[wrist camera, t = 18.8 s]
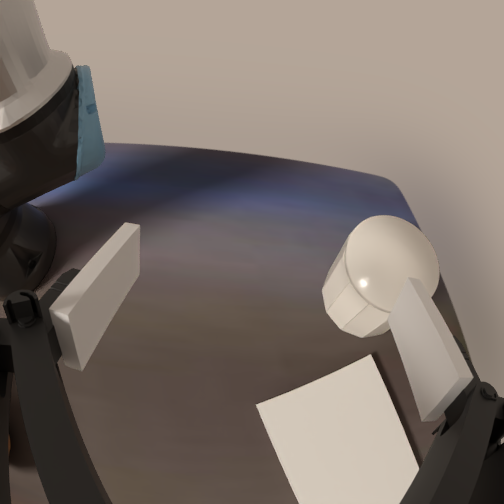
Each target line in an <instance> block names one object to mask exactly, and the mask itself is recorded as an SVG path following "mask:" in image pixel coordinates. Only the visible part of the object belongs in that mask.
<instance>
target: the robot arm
mask: <svg viewBox="0 0 504 504" xmlns="http://www.w3.org/2000/svg"><path fill="white" fill-rule="evenodd" d="M105 153H106V152H105V145H104V140H103V136H102V131H101V126H100V121H99V116H98V111H97V107H96V101H95V94H94V89H93V83H92V77H91V71H90V68H89V66H87V65H84V66H76V67H75V68H74V67H73V64H72V62H71V59H70V57H69V56H68V55H67V54H66V53H64V52H62V51H57V50H51V49H50V48H49V45H48V43H47V40H46V37H45V34H44V31H43V28H42V26H41V22H40V19H39V16H38V13H37V10H36V7H35V4H34V1H33V0H0V301H4V303H3V307H4V310H5V313H6V316H7V319H6V318H0V504H11V496H10V483H9V459H8V436H9V411H10V397H11V386H12V377H13V373H15V379H16V385H17V391H18V396H19V401H20V406H21V411H22V416H23V420H24V424H25V429H26V433H27V436H28V440H29V444H30V448H31V451H32V454H33V458H34V461H35V464H36V467H37V471H38V474H39V477H40V479H41V482H42V485H43V488H44V491H45V493H46V496H47V499H48V501H49V504H112V502H111V500H110V498H109V497H108V495H107V493H106V491H105V489H104V487H103V485H102V482H101V480H100V478H99V476H98V474H97V472H96V470H95V467H94V465H93V463H92V461H91V458H90V456H89V454H88V451H87V449H86V447H85V444H84V442H83V439H82V436H81V434H80V431H79V429H78V426H77V423H76V421H75V418H74V415H73V412H72V409H71V406H70V403H69V400H68V397H67V394H66V391H65V388H64V384H63V381H62V377H61V374H60V370H59V367H58V364H57V362H58V360H59V358H60V357H61V355H62V357H63V361H64V364H65V365H66V366H69V367H72V368H74V369H77V370H80V371H83V369H84V367H85V365H86V364H87V362H88V360H89V358H90V356H91V355H92V353H93V351H94V349H95V347H96V346H97V344H98V342H99V340H100V339H101V337H102V335H103V334H104V332H105V330H106V328H107V327H108V325H109V323H110V322H111V320H112V318H113V317H114V315H115V313H116V312H117V310H118V308H119V307H120V305H121V303H122V302H123V300H124V298H125V297H126V295H127V294H128V292H129V290H130V289H131V287H132V286H133V284H134V282H135V281H136V279H137V278H138V276H139V274H140V225H137V224H132V223H127V222H125V223H124V224H123V225H122V226H121V227H120V228H119V229H118V230H117V231H116V233H115V234H114V235H113V236H112V237H111V238H110V239H109V240H108V241H107V242H106V243H105V244H104V245H103V246H102V248H101V249H100V250H99V251H98V252H97V253H96V254H95V255H94V256H93V257H92V259H91V260H90V261H89V262H88V263H87V264H86V265H85V266H84V268H83V269H82V270H78V269H74V268H72V269H71V270H69V271H67V272H65V273H63V274H62V275H61V276H60V277H59V279H58V280H57V281H56V283H54V284H53V285H52V286H51V289H49V290H48V291H47V292H46V293H45V294H44V295H43V297H42V298H41V299H40V300H38V297H37V295H36V294H35V293H34V292H33V290H34V289H35V288H36V287H37V286H38V284H39V283H40V282H41V281H42V279H43V278H44V276H45V275H46V273H47V271H48V269H49V267H50V265H51V263H52V260H53V257H54V253H55V248H56V234H55V229H54V226H53V224H52V222H51V221H50V220H49V218H48V217H47V216H46V215H45V213H44V212H43V211H42V210H41V209H39V208H38V207H36V206H33V205H30V204H28V203H27V202H29V201H31V200H33V199H35V198H37V197H39V196H41V195H43V194H45V193H47V192H49V191H52V190H54V189H56V188H58V187H60V186H62V185H65V184H67V183H69V182H71V181H75V180H77V179H78V178H79V177H80V176H82V175H84V174H86V173H88V172H90V171H92V170H94V169H96V168H97V167H99V166H100V164H101V163H102V162H103V161H104V158H105ZM387 321H388V323H389V326H390V328H391V331H392V334H393V336H394V339H395V342H396V345H397V347H398V350H399V353H400V356H401V359H402V361H403V364H404V367H405V370H406V373H407V376H408V379H409V382H410V385H411V388H412V391H413V394H414V398H415V401H416V404H417V407H418V410H419V414H420V417H421V421H422V422H423V421H436V420H437V419H438V418H439V417H440V416H441V415H442V414H443V413H445V416H446V419H445V420H444V421H443V422H442V423H441V424H440V425H439V426H438V427H437V428H436V429H435V430H434V431H433V433H432V434H433V435H434V434H435V433H436V432H438V433H437V435H436V437H435V439H434V441H433V443H432V445H431V447H430V449H429V452H428V454H427V455H426V457H425V459H424V461H423V463H422V465H421V467H420V469H419V471H418V473H417V474H416V476H415V478H414V480H413V482H412V483H411V485H410V487H409V488H408V490H407V492H406V493H405V495H404V497H403V498H402V500H401V502H400V503H399V504H504V443H503V444H501V439H502V438H503V437H504V398H502V397H498V394H497V392H496V390H495V389H494V387H492V386H491V385H490V384H488V383H486V382H481V381H480V379H479V377H478V375H477V373H476V371H475V369H474V367H473V365H472V363H471V361H470V360H469V357H468V355H467V354H466V351H465V349H464V347H463V345H462V344H461V343H460V341H459V340H458V339H457V338H456V337H455V336H452V334H451V332H450V330H449V328H448V327H447V325H446V323H445V321H444V319H443V318H442V316H441V314H440V312H439V311H438V309H437V307H436V305H435V304H434V302H433V300H432V298H431V297H430V295H429V293H428V292H427V290H426V288H425V287H424V285H423V284H422V282H421V280H420V279H415V278H410V277H408V278H407V280H406V282H405V284H404V286H403V288H402V290H401V293H400V295H399V297H398V299H397V301H396V303H395V305H394V307H393V309H392V311H391V313H390V315H389V317H388V319H387Z"/></svg>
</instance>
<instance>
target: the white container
mask: <svg viewBox="0 0 504 504" xmlns="http://www.w3.org/2000/svg"><path fill="white" fill-rule="evenodd" d="M439 274H440V272H439V263H438V259H437V255H436V253H435V250H434V248H433V246H432V244H431V243H430V241H429V240H428V239H427V237H426V236H425V235H424V234H423V233H422V232H421V231H420V230H419V229H418V228H417V227H415V226H414V225H412V224H411V223H409V222H407V221H405V220H403V219H401V218H398V217H394V216H388V215H380V216H374V217H370V218H368V219H366V220H364V221H363V222H361V223H360V224H359V225H358V226H357V227H356V228H355V229H354V231H353V232H352V233H350V234H349V236H348V238H347V240H346V242H345V243H344V245H343V247H342V249H341V251H340V252H339V254H338V256H337V258H336V259H335V261H334V263H333V265H332V266H331V268H330V270H329V272H328V275H327V277H326V280H325V283H324V286H323V288H322V293H323V298H324V304H325V309H326V311H327V314H328V315H329V316H330V317H331V318H332V320H333V321H334V322H335V323H336V324H337V326H338V327H339V328H340V329H341V330H343V331H345V332H348V333H350V334H353V335H356V336H358V337H361V338H364V337H369V336H375V335H380V334H383V333H385V332H386V331H388V330H389V329H391V328H390V326H389V323H388V321H387V319H388V317H389V315H390V313H391V311H392V309H393V307H394V305H395V303H396V301H397V299H398V297H399V295H400V293H401V290H402V288H403V286H404V284H405V282H406V280H407V278H408V277H410V278H415V279H420V280H421V282H422V284H423V285H424V287H425V288H426V290H427V292H428V293H429V295H430V297H432V296H433V294H434V293H435V291H436V288H437V286H438V282H439Z"/></svg>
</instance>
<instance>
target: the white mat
mask: <svg viewBox="0 0 504 504" xmlns="http://www.w3.org/2000/svg"><path fill="white" fill-rule="evenodd" d="M256 406H257V408H258V411H259V413H260V416H261V418H262V420H263V423H264V425H265V428H266V430H267V432H268V435H269V437H270V439H271V442H272V444H273V446H274V449H275V451H276V453H277V456H278V458H279V460H280V463H281V465H282V467H283V469H284V472H285V474H286V476H287V478H288V480H289V483H290V485H291V487H292V489H293V491H294V494H295V496H296V498H297V500H298V502H299V504H399V503H400V502H401V500H402V498H403V497H404V495H405V493H406V492H407V490H408V488H409V487H410V485H411V483H412V482H413V480H414V478H415V476H416V474H417V473H418V471H419V467H418V465H417V462H416V459H415V457H414V454H413V452H412V449H411V447H410V444H409V442H408V439H407V437H406V434H405V432H404V429H403V427H402V424H401V422H400V420H399V417H398V415H397V412H396V410H395V408H394V405H393V403H392V401H391V398H390V396H389V394H388V391H387V389H386V387H385V384H384V382H383V380H382V378H381V375H380V373H379V371H378V369H377V367H376V364H375V362H374V360H373V358H372V356H371V354H370V355H368V356H366V357H364V358H362V359H360V360H358V361H356V362H354V363H352V364H350V365H348V366H346V367H344V368H342V369H340V370H338V371H336V372H333V373H331V374H329V375H327V376H325V377H322V378H320V379H318V380H316V381H313V382H311V383H309V384H306V385H304V386H302V387H299V388H297V389H295V390H292V391H290V392H287V393H285V394H282V395H280V396H277V397H275V398H272V399H270V400H267V401H264V402H262V403H259V404H256Z"/></svg>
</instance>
